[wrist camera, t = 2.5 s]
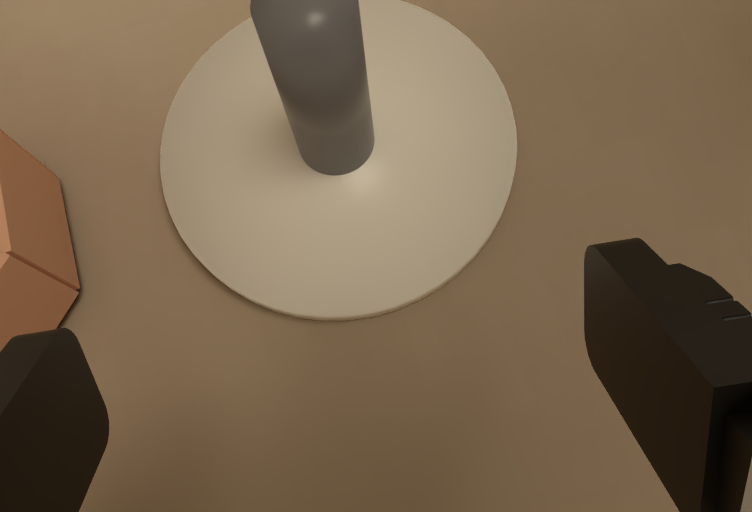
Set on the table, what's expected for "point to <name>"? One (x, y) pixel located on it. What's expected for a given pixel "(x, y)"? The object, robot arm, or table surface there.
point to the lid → (338, 156)
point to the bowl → (32, 246)
